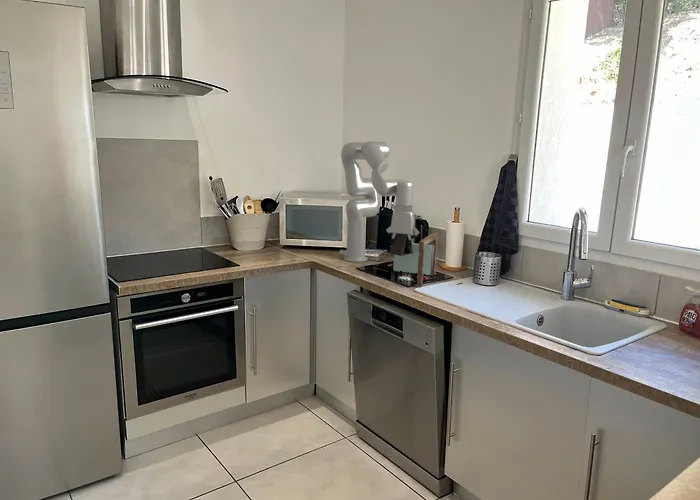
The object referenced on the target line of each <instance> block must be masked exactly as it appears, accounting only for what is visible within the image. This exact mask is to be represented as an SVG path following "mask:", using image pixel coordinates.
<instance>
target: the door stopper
mask: <svg viewBox="0 0 700 500" xmlns="http://www.w3.org/2000/svg"><path fill="white" fill-rule="evenodd" d="M394 239H395V242H393V241H392V246H391V249H390V255H393V256H394V255H399V256H403V255H408V254H412V253H413V251H412V246H411V247H410V248H409V249H408V248H407V243H408V240H409V238H408V235H407V234H396V236H395V238H394Z"/></svg>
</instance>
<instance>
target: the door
mask: <svg viewBox="0 0 700 500" xmlns="http://www.w3.org/2000/svg"><path fill="white" fill-rule="evenodd" d="M412 251H413V253H412V254H408V255H403V256H399V255H394V254H393V268H392V269H393V270H394V272H400V271H402V272H403V273H408V272H409V274H416V273H417V274H418V257H419V243H414V242H412ZM433 255H434V246H433V245H432V244H427V245H425V253H424V269H423V275H424V274H425V276H433V275H432V271H433ZM393 270H392V271H393Z"/></svg>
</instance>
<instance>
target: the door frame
mask: <svg viewBox="0 0 700 500" xmlns="http://www.w3.org/2000/svg"><path fill="white" fill-rule="evenodd" d="M438 241H439V232H435V231H434V232H431V234H429V235H427V236H425V237H424V238H423V239H421V240H420V241H419V242H418V244H419V257H418V274H417V275H416V276H417V277H416V279H417V280H416V287H418V288H422V287H423V286H424V285H423V282H424V274H423V269H424V253H425V245H429V244H430V243H431V245H433V246H434V255H433V271H432V274H435V273H436V274H437V272H436V271H437V256H438ZM436 274H435V275H436Z"/></svg>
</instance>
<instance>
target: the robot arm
mask: <svg viewBox="0 0 700 500" xmlns="http://www.w3.org/2000/svg"><path fill="white" fill-rule="evenodd" d="M340 152H341V153H340V159H341V163H342V166H343V169H344V177H345V186H346V187H345V188H346V192H347V194H348V196H349V197H364V198H355V199H354V198H353V199H350V200H349V201H347V203H346V205H345V212H346V218H347V219H346V221H347V223H346V225H347V226H346V228H347V229H346V230H347V232H346V249H345V250H344V249H340V250H339V254H340V255H344V256H343V260H344V261H347V262H350V263H351V262H352V263H360V262H361V263H362V262H367V261H369V260H368V258H367V257H368V256H366V234H367V233H366V232H367V230H366V222H365V221H364V220H363V218H372V217H375V216H377V214H379V209H380V208H379V207H380V206H379V198H378V195H379V196H381V197H395V205H394V204H393V205H392V209H394V211H393V212H392V216H391V222H390V226H389V227H388V228H386V232H387V233H388V234H389V235H390V237H391V238H392V243H393V242H395V239H394V238H395V236H396V234H407V235H408V238H409V240H408V243H407V248H408V249H409V248H410V247H411V246H412V243H413V239H414V238H416V237H418V235H419V234H420V231H419V230H418V229H417V228H416V227H415V215H414V212H413V198H414V183H413V182H411V181H405V180H403V179H384V177H383V176H382V174H383V173H384V172H386V170H387V169H388V167H389V160H388V159H387V158H388V157H389V156H390V154H391V153H390V152H391V149H390V146H389V144H387V142H385V141H374V140H373V141H366V142H357V141H355V142H352V141H351V142H347V143H345V144H344V145H343V147H342V149H341V150H340ZM356 160H365V161H366V163H367V164H368V166H369V167H370V169H371V174H370V177H363V173H362V168H361V165H360V164H359V163H358V162H357V161H356ZM365 256H366V257H365Z"/></svg>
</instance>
